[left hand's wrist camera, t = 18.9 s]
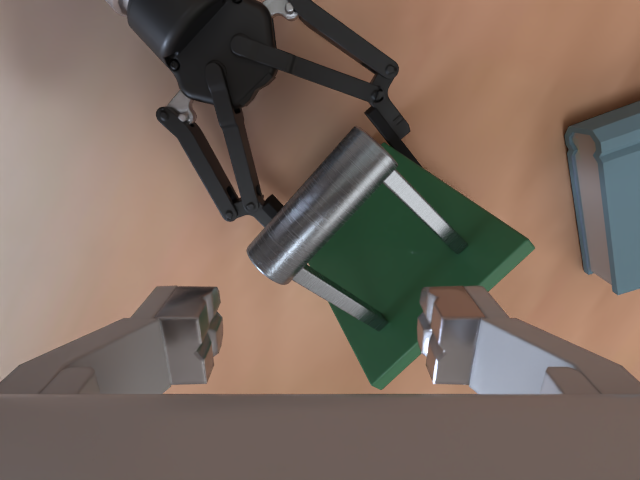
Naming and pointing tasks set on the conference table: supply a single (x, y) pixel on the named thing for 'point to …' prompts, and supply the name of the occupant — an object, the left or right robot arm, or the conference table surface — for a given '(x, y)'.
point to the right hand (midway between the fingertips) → (367, 216)
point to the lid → (382, 247)
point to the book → (608, 194)
